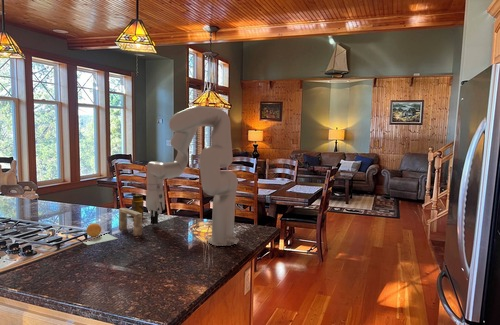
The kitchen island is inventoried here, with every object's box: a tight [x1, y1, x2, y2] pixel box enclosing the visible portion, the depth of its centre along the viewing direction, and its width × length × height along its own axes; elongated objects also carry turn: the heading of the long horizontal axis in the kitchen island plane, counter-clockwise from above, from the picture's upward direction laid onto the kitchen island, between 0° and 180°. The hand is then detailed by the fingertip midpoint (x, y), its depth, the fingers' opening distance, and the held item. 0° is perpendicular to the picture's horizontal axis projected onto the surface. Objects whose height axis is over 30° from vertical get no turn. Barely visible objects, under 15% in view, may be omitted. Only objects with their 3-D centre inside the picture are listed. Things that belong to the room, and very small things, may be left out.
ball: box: [85, 222, 102, 237], centre depth 155 cm, size 6×6×6 cm
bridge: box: [118, 207, 143, 237], centre depth 165 cm, size 3×15×10 cm, turn 48°
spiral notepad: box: [83, 233, 119, 246], centre depth 153 cm, size 13×13×1 cm
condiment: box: [127, 194, 146, 220], centre depth 191 cm, size 7×8×12 cm
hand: (154, 223), depth 175 cm, fingers closed
